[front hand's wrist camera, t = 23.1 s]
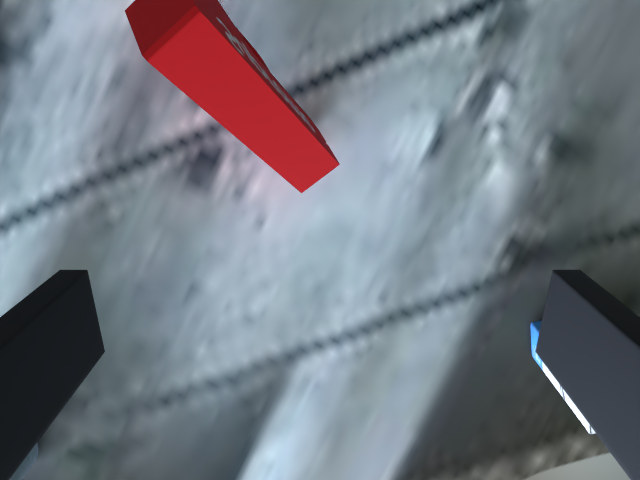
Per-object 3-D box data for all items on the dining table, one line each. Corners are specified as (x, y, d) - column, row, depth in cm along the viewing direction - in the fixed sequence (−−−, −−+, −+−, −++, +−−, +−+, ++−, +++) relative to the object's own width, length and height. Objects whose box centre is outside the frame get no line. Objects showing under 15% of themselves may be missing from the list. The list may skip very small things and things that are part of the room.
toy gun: (107, -51, 33) (136, 51, 25) (147, -92, 32) (190, 0, 24) (254, 98, 48) (303, 194, 39) (284, 73, 47) (340, 166, 38)
